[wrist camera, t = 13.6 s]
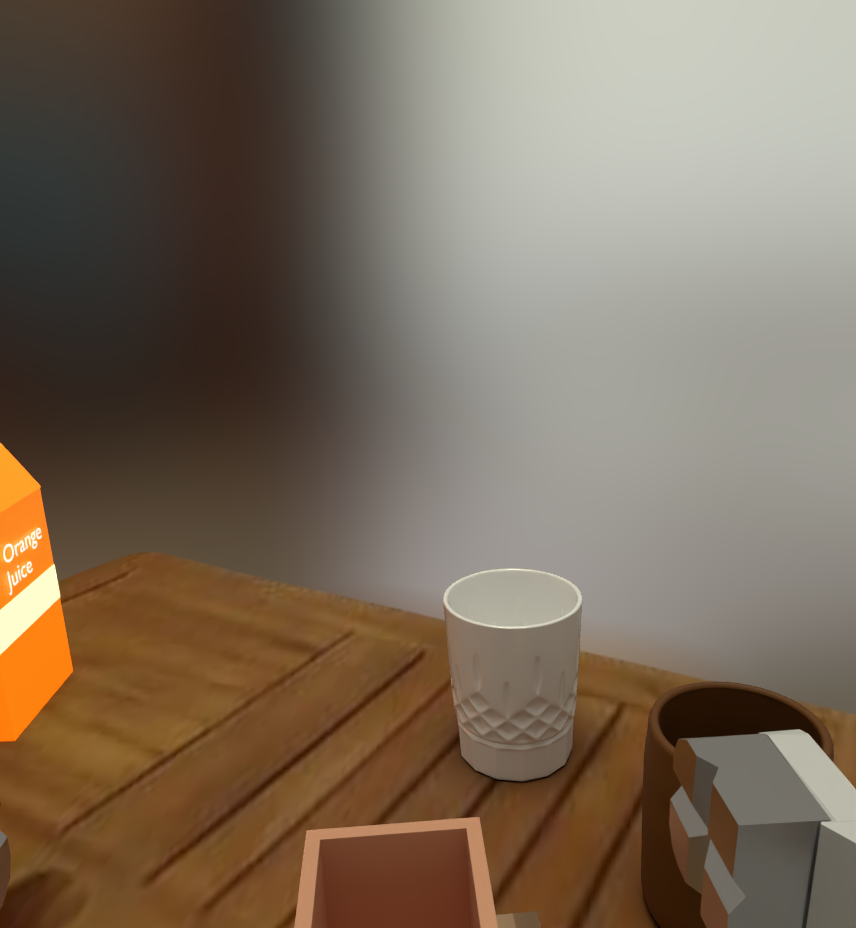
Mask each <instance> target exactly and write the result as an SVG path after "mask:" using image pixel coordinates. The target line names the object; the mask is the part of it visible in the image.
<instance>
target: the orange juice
mask: <svg viewBox="0 0 856 928" xmlns="http://www.w3.org/2000/svg"><path fill="white" fill-rule="evenodd" d="M40 487H41V486H40V485H39V484H38V483H37V482H36V481H35V480H34V479H33V477H32V476H31V475H30V474H29V473H28V472H27V471H26V470H25V469H24V468H23V467H22V466H21V465H20V463H19V462H17V460H16V459H15V458H14V457H13V456H12V455H11V454H10V453H9V452H8V451H7V449H5V448H4V446H3V445H2V444H1V443H0V741H15V740H16V739H17V738H18V736H19V735H20V734H21V733H22V732H23V730H24V729H25V728H26V727H27V726H28V724H29V723H30V722H31V721H32V720H33V718H34V717H35V716H36V715H37V714H38V712H39V711H40V710H41V709H42V708H43V706H44V705H45V704H46V703H47V702H48V700H49V699H50V698H51V697H52V696H53V694H54V693H55V692H56V691H57V690H58V688H59V687H60V686H61V685H62V684H63V682H64V681H65V680H66V679H67V678H68V676H69V675H70V674H71V673H72V672H73V668H72V662H71V657H70V651H69V646H68V640H67V635H66V629H65V624H64V618H63V613H62V607H61V602H60V592H59V587H58V581H57V576H56V570H55V565H54V564H53V558H52V553H51V547H50V542H49V536H48V531H47V525H46V520H45V514H44V509H43V504H42V498H41V492H40Z"/></svg>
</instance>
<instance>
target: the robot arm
mask: <svg viewBox="0 0 856 928" xmlns="http://www.w3.org/2000/svg"><path fill="white" fill-rule="evenodd" d="M673 770H674V771H675V773H676V775H677V777H678V779H679V781H680V783H681V785H682V786H681V787H680V788H679V789H678V791H677V792H676V793H675V794H674V795H673V797H672V798H671V799H670V817H669V825H670V833H671V841H672V848H673V851H674V854H675V858H676V861H677V864H678V867H679V869H680V871H681V874H682V876H683V878H684V880H685V883H687V884H688V885H689V886H691V887H692V888H694V889H695V890H696V891H698V892H699V893H700V894H702V898H701V910H700V915H701V917H702V919H703V921H704V923H705V925H706V928H856V789H855V788H854V786H853V785H852V784H851V783H850V782H849V781H848V779H847V778H846V777H845V776H844V775H843V774H842V772H841V771H840V770H839V769H838V768H837V767H836V765H835V764H834V763H833V762H832V761H831V760H830V758H829V757H828V756H827V755H826V754H825V753H824V751H823V750H822V749H821V748H820V747H819V746H818V744H817V743H816V742H815V741H814V740H813V739H812V737H811V736H810V735H809V734H808V733H806V732H804V731H802V730H800V729H796V730H784V731H772V732H760V733H759V734H749V735H733V736H717V737H701V738H685V739H678V741H677V744H676V747H675V750H674V759H673ZM0 805H1V804H0ZM9 879H10V850H9V844H8V839H7V836H6V835H5V834H3V833H2V832H1V831H0V909H1V907H2V905H3V902H4V898H5V894H6V891H7V887H8V883H9Z"/></svg>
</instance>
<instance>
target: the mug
mask: <svg viewBox="0 0 856 928" xmlns="http://www.w3.org/2000/svg"><path fill="white" fill-rule="evenodd" d="M796 729H800V730H802V731H804V732H806V733H808V734H809V735H810V736H811V737H812V739H813V740H814V741H815V742H816V743H817V744H818V746H819V747H820V748H821V749H822V750H823V751H824V753H825V754H826V755H827V756H828V757H829V758H830V760H831V761H832V762H833V760H834V749H833V742H832V739H831V736H830V734H829V732H828V730H827V728H826V727H825V726H824V724H823V723H822V722H821V721H820V720H819V719H818V718H817V717H816V716H815V715H814V714H813V713H812V712H810V711H809V710H808V709H807V708H805V707H803V706H802V705H800V704H799V703H797V702H795V701H793V700H791V699H789V698H787V697H785V696H783V695H780V694H778V693H775V692H772V691H770V690H766V689H763V688H759V687H755V686H751V685H745V684H739V683H731V682H700V683H693V684H688V685H684V686H681V687H678V688H675V689H673V690H671V691H669V692H667V693H665V694H664V695H663V696H661V697H660V698H659V699H658V700H657V701H656V702H655V704H654V706H653V707H652V709H651V711H650V714H649V719H648V730H647V736H646V743H645V753H644V775H643V805H642V853H641V881H642V889H643V894H644V897H645V901H646V904H647V906H648V908H649V910H650V912H651V914H652V915H653V917H654V919H655V920H656V922H657V923H658V924H659V926H660V927H661V928H706V925H705V923H704V921H703V919H702V917H701V915H700V910H701V898H702V894H700V893H699V892H698V891H696V890H695V889H694V888H692V887H691V886H689V885H688V884H687V883H685V880H684V878H683V876H682V874H681V871H680V869H679V867H678V864H677V861H676V858H675V854H674V851H673V848H672V841H671V833H670V825H669V817H670V799H671V798H672V797H673V795H674V794H675V793H676V792H677V791H678V789H679V788H680V787H681V786H682V785H681V783H680V781H679V779H678V777H677V775H676V773H675V771H674V770H673V759H674V750H675V747H676V744H677V741H678V739H685V738H701V737H717V736H733V735H749V734H759V733H760V732H772V731H784V730H796Z"/></svg>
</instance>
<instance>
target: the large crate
mask: <svg viewBox="0 0 856 928" xmlns="http://www.w3.org/2000/svg"><path fill="white" fill-rule="evenodd" d="M496 920H497V925H498V928H541V924H540V920H539V916H538V912H537V911H534V912H523V913H513V914H502V915H496Z"/></svg>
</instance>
